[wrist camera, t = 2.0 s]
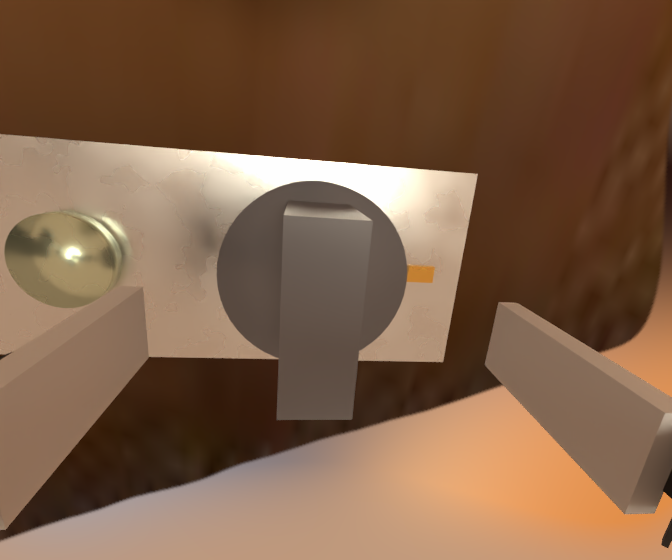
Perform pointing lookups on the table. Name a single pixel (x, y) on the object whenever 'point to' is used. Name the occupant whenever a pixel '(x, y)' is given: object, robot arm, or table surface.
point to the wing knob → (312, 289)
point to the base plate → (197, 239)
